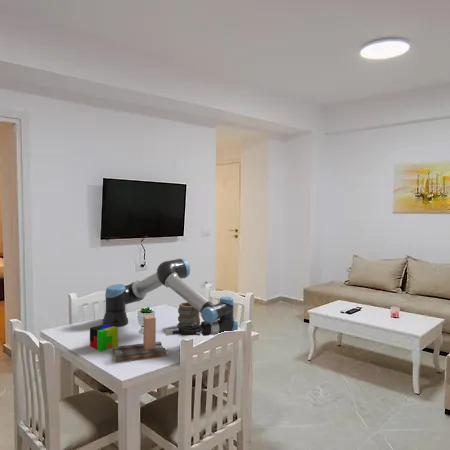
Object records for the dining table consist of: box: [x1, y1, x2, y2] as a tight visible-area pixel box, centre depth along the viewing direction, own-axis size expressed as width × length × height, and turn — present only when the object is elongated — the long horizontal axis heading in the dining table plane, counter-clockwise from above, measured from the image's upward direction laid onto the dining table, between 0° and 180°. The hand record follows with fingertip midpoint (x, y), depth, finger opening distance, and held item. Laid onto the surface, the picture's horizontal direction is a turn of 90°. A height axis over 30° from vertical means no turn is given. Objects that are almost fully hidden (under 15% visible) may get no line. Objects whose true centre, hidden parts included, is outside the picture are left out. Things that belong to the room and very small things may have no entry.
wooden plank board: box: [112, 341, 168, 363], centre depth 206 cm, size 24×16×2 cm, turn 112°
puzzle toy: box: [89, 323, 119, 352], centre depth 214 cm, size 10×10×10 cm
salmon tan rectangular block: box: [142, 314, 157, 350], centre depth 207 cm, size 5×6×16 cm
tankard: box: [176, 301, 201, 329], centre depth 245 cm, size 20×13×15 cm, turn 37°
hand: (165, 332), depth 210 cm, fingers closed
